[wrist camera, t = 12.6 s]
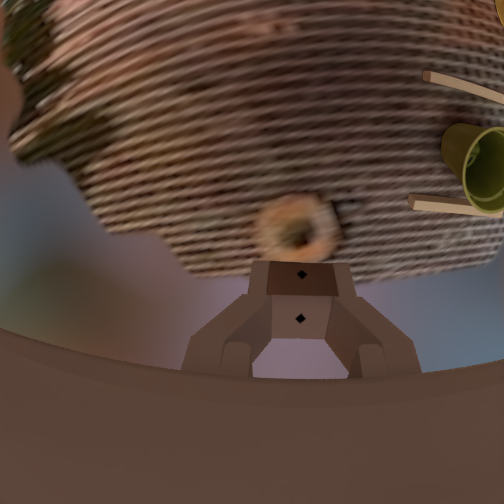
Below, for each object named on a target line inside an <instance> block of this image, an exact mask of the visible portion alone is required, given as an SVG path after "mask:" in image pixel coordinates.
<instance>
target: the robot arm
mask: <svg viewBox="0 0 504 504" xmlns="http://www.w3.org/2000/svg"><path fill="white" fill-rule="evenodd" d="M271 338H301V339H325V341H326V342H327V344H328V345H329V347H330V348H331V349H332V351H333V352H334V353H335V355H336V356H337V357H338V358H339V360H340V361H341V363H342V364H343V365H344V366H345V368H346V369H347V370H348V372H349V375H348V377H347V379H279V378H277V379H276V378H256V377H253V370H252V363H253V362H254V361H255V359H256V358H257V357H258V356H259V354H260V353H261V352H262V351H263V350H264V348H265V347H266V346H267V345H268V343H269V342H270V341H271ZM0 504H504V359H502V360H498V361H493V362H488V363H484V364H478V365H473V366H467V367H461V368H455V369H448V370H441V371H434V372H427V373H422V371H421V367H420V364H419V360H418V357H417V354H416V350H415V347H414V344H413V341H412V340H411V339H410V338H409V337H407V336H406V335H405V334H404V333H403V332H402V331H401V330H399V329H398V328H397V327H396V326H395V325H394V324H392V323H391V322H390V321H389V320H388V319H387V318H386V317H384V316H383V315H382V314H381V313H380V312H379V311H377V310H376V309H375V308H374V307H373V306H372V305H370V304H369V303H368V302H367V301H366V300H365V299H363V298H362V297H357V295H356V291H355V287H354V283H353V279H352V275H351V271H350V267H349V264H348V263H301V262H280V261H270V262H269V261H253V263H252V269H251V275H250V281H249V288H248V294H242V295H241V296H240V297H239V298H238V299H236V300H235V301H234V302H233V303H232V304H230V305H229V306H228V307H227V308H226V309H224V310H223V311H222V312H221V313H219V314H218V315H217V316H216V317H215V318H214V319H212V320H211V321H210V322H209V323H207V324H206V325H205V326H204V327H202V328H201V329H200V330H199V331H197V333H195V334H194V335H193V336H191V338H190V341H189V345H188V347H187V351H186V354H185V357H184V361H183V364H182V367H181V370H174V369H167V368H161V367H154V366H148V365H142V364H137V363H131V362H126V361H121V360H116V359H111V358H106V357H101V356H97V355H92V354H88V353H83V352H80V351H76V350H71V349H68V348H64V347H60V346H57V345H53V344H49V343H46V342H42V341H39V340H36V339H32V338H29V337H26V336H22V335H20V334H16V333H14V332H11V331H8V330H5V329H2V328H0Z"/></svg>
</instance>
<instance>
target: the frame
mask: <svg viewBox="0 0 504 504" xmlns="http://www.w3.org/2000/svg"><path fill="white" fill-rule="evenodd" d="M423 81H427V82H432V83H436V84H440V85H444V86H448V87H451V88H455V89H458V90H462V91H465V92H468V93H472V94H475V95H478V96H481V97H484V98H487V99H490V100H493V101H495V102H498V103H501V104H503V105H504V95H503V94H501V93H498V92H495V91H493V90H490V89H487V88H485V87H482V86H479V85H476V84H473V83H470V82H467V81H464V80H460V79H457V78H454V77H450V76H447V75H443V74H439V73H436V72H432V71H423ZM408 203H409V205H410V206H411V207H412V209H413V210H425V211H437V212H449V213H459V214H469V215H479V216H488V217H496V218H502V214H503V211H504V210H503V211H501V212H498V213H495V214H487V213H482V212H480V211H478V210H477V209H475V208H474V207H473V206H472V205H471V203H470V202H469V201H468V200H466V199H458V198H449V197H440V196H431V195H421V194H410V193H409V198H408Z"/></svg>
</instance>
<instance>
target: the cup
mask: <svg viewBox="0 0 504 504" xmlns="http://www.w3.org/2000/svg"><path fill="white" fill-rule="evenodd" d="M495 4H496V9H497V12H498V15H499V18H500V20H501V23H502V25H503V27H504V0H495Z"/></svg>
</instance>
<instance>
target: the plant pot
mask: <svg viewBox="0 0 504 504" xmlns="http://www.w3.org/2000/svg"><path fill="white" fill-rule="evenodd" d="M441 155H442V158H443V160H444V162H445V163H446V164H447V166H448V167H449V168H450V169H451V170H452V172H453V173H454V174H455V175H456V177H457V178H458V179H459V180H460V182H461V183H462V185H463V190H464V193H465V195H466V197H467V199H468V201H469V202H470V203H471V205H472V206H473V207H474V208H475V209H477V210H478V211H480V212H482V213H487V214H495V213H498V212H501V211H503V210H504V127H498V126H496V127H490V128H482V127H478V126H473V125H469V124H464V123H456V124H454V125H452V126H450V127H449V128H448V129H447V130H446V131H445V133H444V134H443V136H442V143H441ZM471 157H472V160H471V161H470V162H469V163H468V164H467V161H468V160H469V159H470V158H471Z"/></svg>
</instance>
